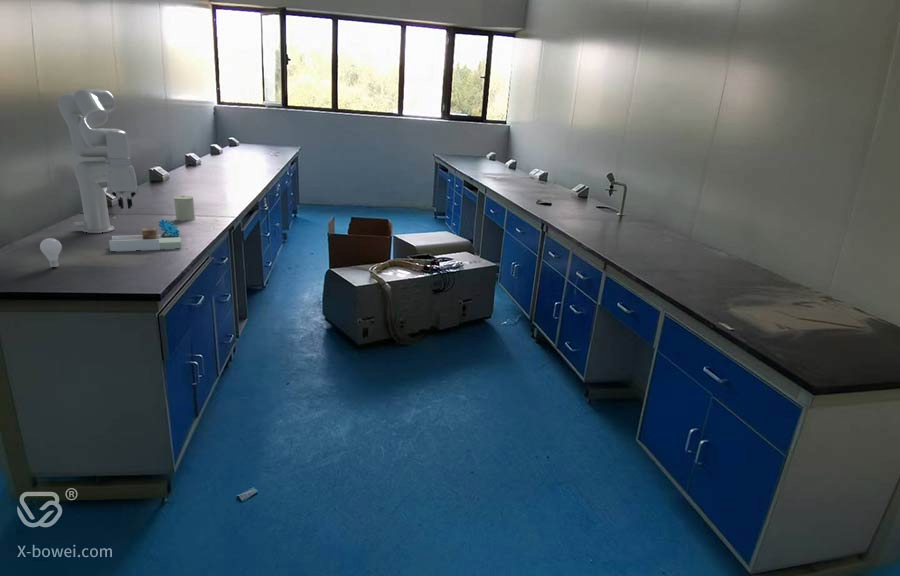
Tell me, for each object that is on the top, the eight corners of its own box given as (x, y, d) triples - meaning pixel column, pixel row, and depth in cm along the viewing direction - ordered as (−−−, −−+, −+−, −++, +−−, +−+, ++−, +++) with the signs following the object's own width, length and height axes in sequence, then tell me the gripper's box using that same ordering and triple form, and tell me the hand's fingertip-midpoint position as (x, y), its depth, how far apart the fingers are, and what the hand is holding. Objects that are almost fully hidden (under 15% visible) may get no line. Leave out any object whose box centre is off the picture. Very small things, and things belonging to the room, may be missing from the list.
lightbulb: (49, 271, 193) (43, 241, 189) (40, 267, 196) (34, 238, 192) (68, 267, 198) (63, 238, 194) (60, 264, 201) (55, 235, 197)
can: (194, 217, 289) (192, 194, 285) (196, 220, 281) (194, 197, 277) (175, 217, 284) (172, 195, 280) (176, 221, 277) (174, 198, 273)
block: (143, 242, 225) (142, 230, 223) (144, 239, 229) (143, 228, 228) (156, 241, 227) (155, 230, 225) (157, 239, 231) (156, 227, 230)
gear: (170, 236, 242) (156, 219, 242) (162, 244, 244) (148, 227, 243) (186, 234, 253) (172, 217, 253) (178, 242, 254) (164, 225, 254)
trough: (110, 251, 220) (108, 241, 218) (113, 246, 227) (112, 236, 226) (181, 248, 230) (180, 238, 228) (181, 243, 237) (180, 233, 236)
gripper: (94, 163, 208) (101, 210, 214) (141, 164, 215) (147, 209, 220) (98, 161, 215) (104, 206, 221) (143, 161, 221) (148, 206, 227)
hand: (126, 207), depth 221 cm, fingers closed
